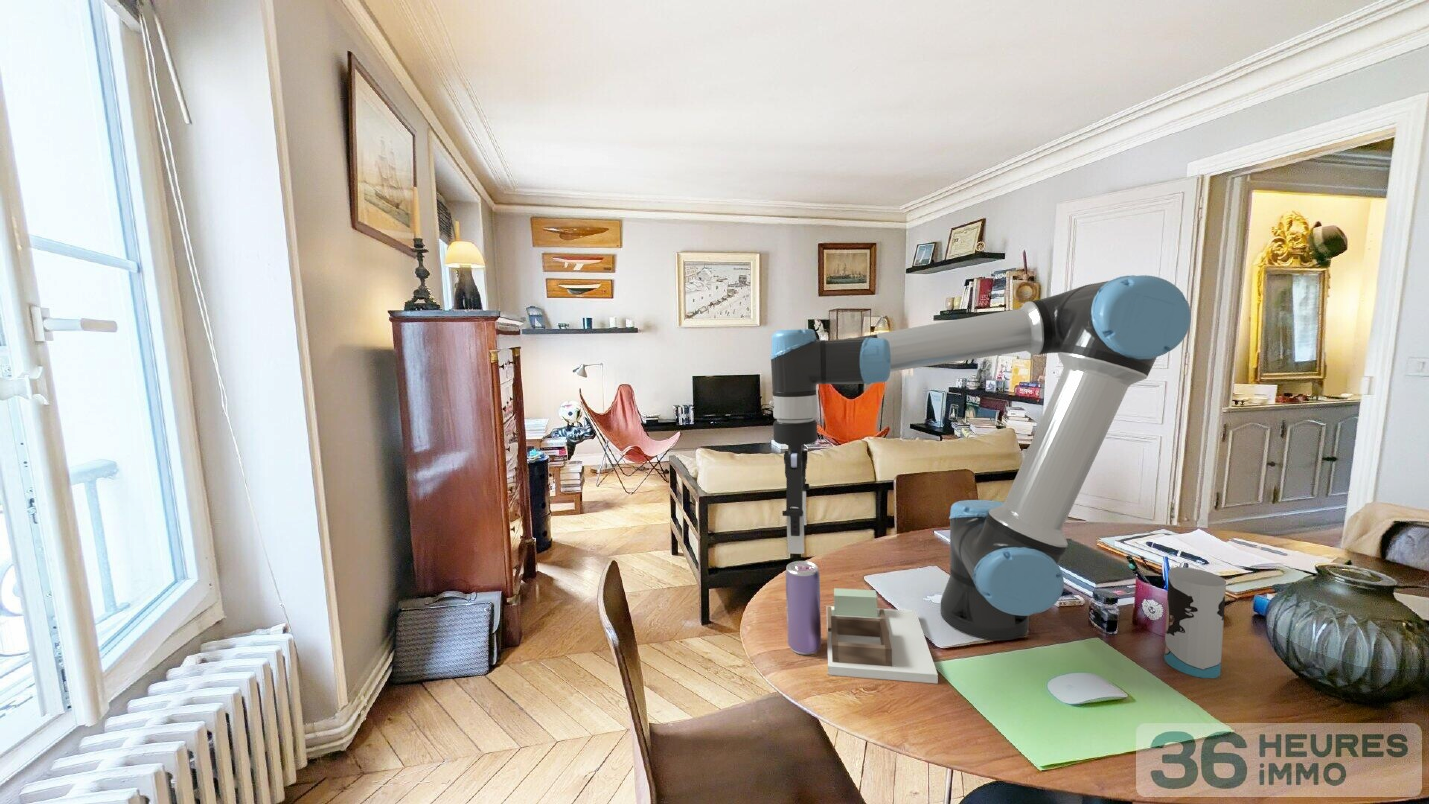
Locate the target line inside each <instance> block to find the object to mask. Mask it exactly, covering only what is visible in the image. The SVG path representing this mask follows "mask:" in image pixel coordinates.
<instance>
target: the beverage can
mask: <svg viewBox="0 0 1429 804" xmlns="http://www.w3.org/2000/svg"><path fill="white" fill-rule="evenodd" d="M785 567H786V570H785V595H786V596H785V598H786V600H785V601H786V621H787V622H786V627H787V645H788V646H789V648H790V650H791V651H793V652H794V653H796V654H799V655H802V656H803V655H805V656H809V655H813V654H816V653H817V652H818V651H819V650H820V649H821V647H822V625H821V623H822V621H821V616H822V615H821V614H822V613H821V587H820V586H821V585H820V584H821V582H820V581H821V580H820V579H821V578H820V577H821V576H820V572H819V566H818V565H817V564H816V563H813V562H812V561H807V560H796V561H792V562H790V563H788V564H787V565H786V566H785Z"/></svg>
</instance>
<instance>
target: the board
mask: <svg viewBox="0 0 1429 804" xmlns="http://www.w3.org/2000/svg"><path fill="white" fill-rule="evenodd" d="M831 616H843V615H835V611H834V605H826V630H827V631H826V636H827V642H826V643H827V675H828V676H840V677H849V678H850V677H851V678H864V679H875V680H876V679H877V680H887V681H888V680H889V681H891V680H892V681H900V682H913V683H914V682H915V683H927V684H938V683H939V682H938V681H939V680H938V679H939V678H938V677H939V674H938V671H937V668H936V666H935V663H934V660H933V657H932V655H931V652H930V649H929V645H928V642H927V640H926V637H925V634H924V631H923V627H922V626H921V625H922V624H921V623H920V620H919V617H918V614H917V612H916V610H911V609H891V608H877V617H863V618H880V619H885V621H886V626H887V630H888V635H889V639H890V643H891V648H892V667H891V666H878V665H865V664H851V663H838V662H832V636H831ZM845 617H861V616H845ZM838 642H843V643H857V644H872V645H881V640H880V637H870V636H854V635H838Z"/></svg>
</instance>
